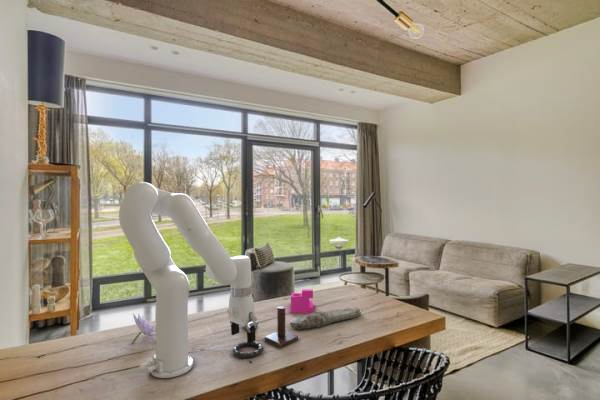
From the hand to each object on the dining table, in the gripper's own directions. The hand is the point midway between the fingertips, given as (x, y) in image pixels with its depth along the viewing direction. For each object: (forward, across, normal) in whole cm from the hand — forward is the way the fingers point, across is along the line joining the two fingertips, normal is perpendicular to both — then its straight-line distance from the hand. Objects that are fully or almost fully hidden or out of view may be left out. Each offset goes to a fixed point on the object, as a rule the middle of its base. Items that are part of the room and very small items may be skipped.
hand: (243, 337), depth 115 cm
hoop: (+2, +4, -1) cm, 5 cm away
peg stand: (+4, +6, +13) cm, 15 cm away
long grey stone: (+5, +7, +39) cm, 40 cm away
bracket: (+5, -12, +43) cm, 45 cm away
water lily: (+2, -31, -22) cm, 38 cm away
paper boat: (+4, -13, +10) cm, 17 cm away
